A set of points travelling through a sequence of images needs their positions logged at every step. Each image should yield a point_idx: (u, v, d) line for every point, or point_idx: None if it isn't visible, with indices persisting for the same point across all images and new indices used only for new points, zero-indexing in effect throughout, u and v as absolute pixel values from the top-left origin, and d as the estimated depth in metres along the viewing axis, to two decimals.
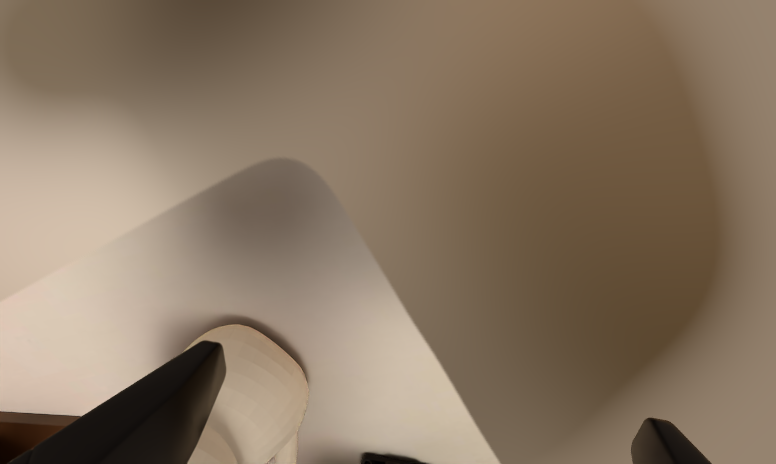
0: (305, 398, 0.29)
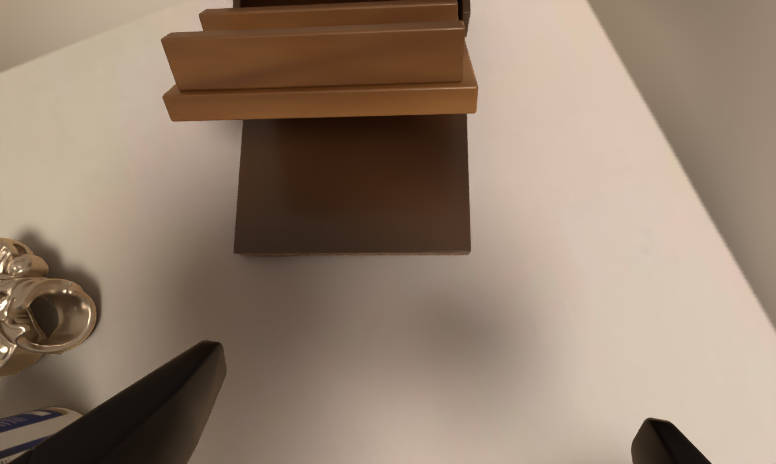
0: None
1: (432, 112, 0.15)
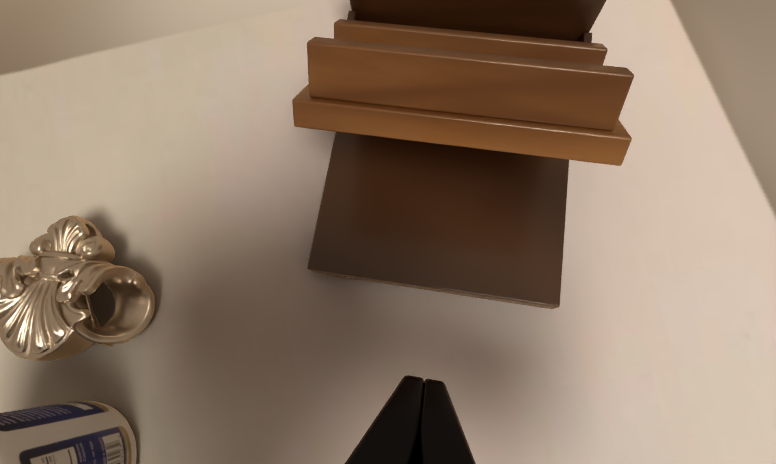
0: None
1: (574, 158, 0.14)
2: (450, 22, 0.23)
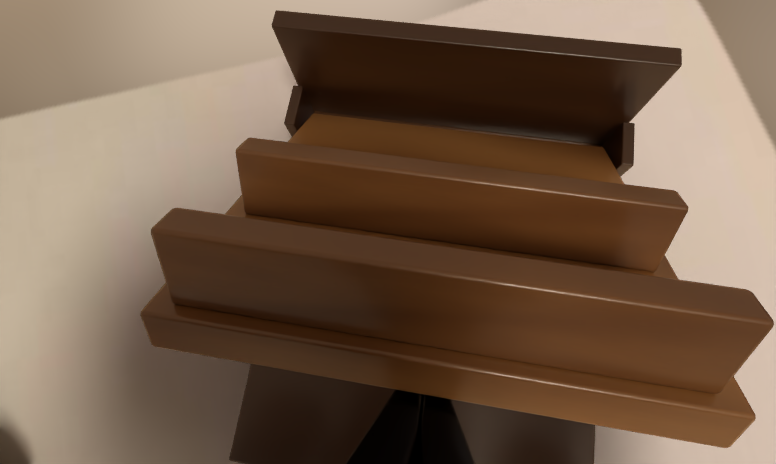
0: None
1: (642, 431, 0.08)
2: (434, 103, 0.16)
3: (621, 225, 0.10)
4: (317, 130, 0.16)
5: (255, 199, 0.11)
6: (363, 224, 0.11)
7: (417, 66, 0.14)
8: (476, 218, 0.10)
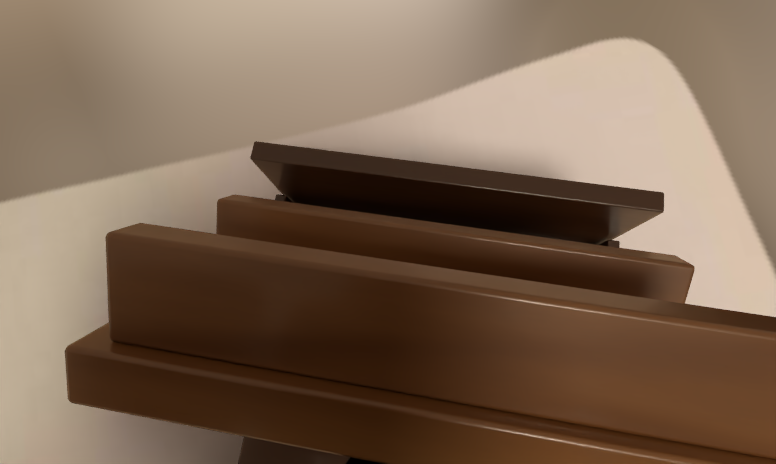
0: None
1: None
2: (418, 213, 0.16)
3: (627, 287, 0.09)
4: None
5: None
6: None
7: (399, 192, 0.14)
8: None
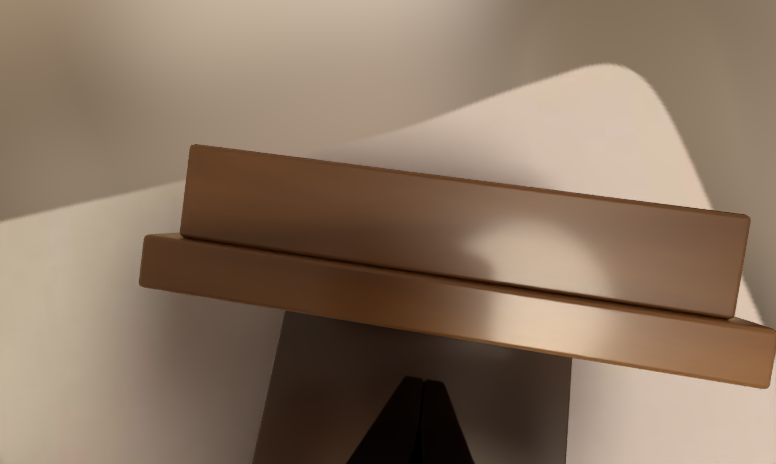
0: None
1: (673, 369, 0.07)
2: None
3: None
4: None
5: None
6: None
7: None
8: None
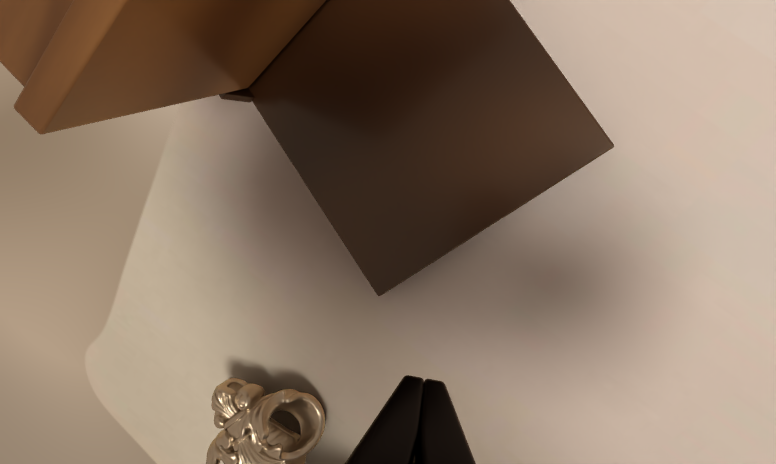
0: None
1: None
2: None
3: None
4: None
5: None
6: None
7: None
8: None
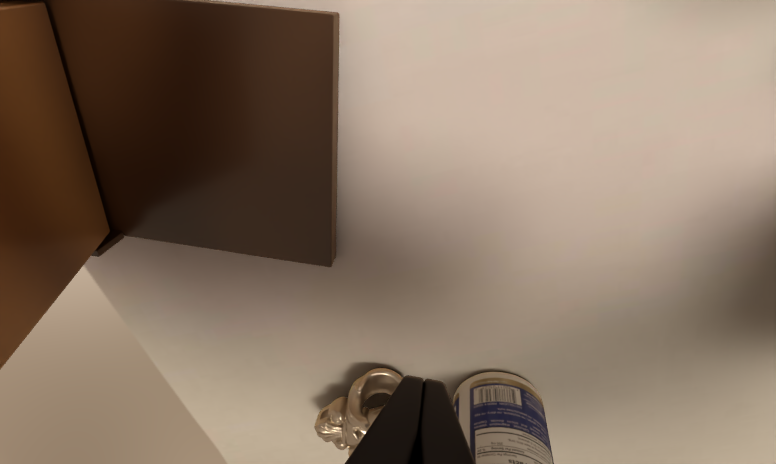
0: None
1: None
2: None
3: None
4: None
5: None
6: None
7: None
8: None
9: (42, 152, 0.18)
